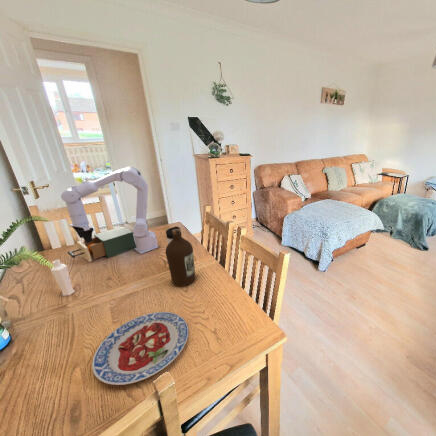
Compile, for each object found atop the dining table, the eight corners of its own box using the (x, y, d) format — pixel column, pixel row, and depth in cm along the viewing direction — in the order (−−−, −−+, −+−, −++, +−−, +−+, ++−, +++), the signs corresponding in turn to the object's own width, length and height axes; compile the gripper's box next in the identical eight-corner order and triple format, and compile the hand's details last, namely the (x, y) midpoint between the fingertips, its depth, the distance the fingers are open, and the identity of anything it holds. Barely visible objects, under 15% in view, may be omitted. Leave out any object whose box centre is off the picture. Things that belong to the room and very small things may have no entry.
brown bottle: (166, 286, 103) (155, 234, 93) (179, 272, 112) (171, 224, 103) (189, 288, 102) (181, 236, 92) (200, 274, 112) (194, 225, 102)
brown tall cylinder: (188, 262, 120) (183, 226, 112) (181, 270, 114) (175, 232, 106) (176, 261, 120) (170, 225, 113) (169, 269, 114) (162, 231, 107)
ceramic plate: (88, 345, 76) (85, 338, 74) (172, 305, 92) (171, 299, 91) (103, 412, 59) (99, 404, 58) (202, 349, 76) (201, 342, 75)
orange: (100, 250, 124) (95, 241, 123) (103, 250, 121) (98, 241, 120) (88, 255, 121) (83, 245, 119) (90, 255, 117) (86, 245, 116)
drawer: (76, 266, 111) (71, 252, 108) (68, 259, 117) (63, 245, 114) (118, 251, 125) (114, 238, 122) (109, 245, 130) (106, 233, 127)
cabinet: (107, 257, 121) (103, 241, 117) (98, 250, 127) (93, 234, 123) (136, 247, 131) (132, 231, 128) (126, 241, 137) (122, 226, 134)
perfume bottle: (58, 294, 96) (45, 262, 90) (72, 287, 99) (60, 257, 94) (64, 298, 94) (50, 266, 88) (77, 291, 98) (65, 260, 92)
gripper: (61, 212, 112) (70, 238, 117) (72, 220, 104) (81, 247, 109) (80, 208, 117) (88, 233, 122) (91, 215, 110) (99, 241, 115)
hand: (86, 239), depth 116 cm, fingers open, 7 cm apart
